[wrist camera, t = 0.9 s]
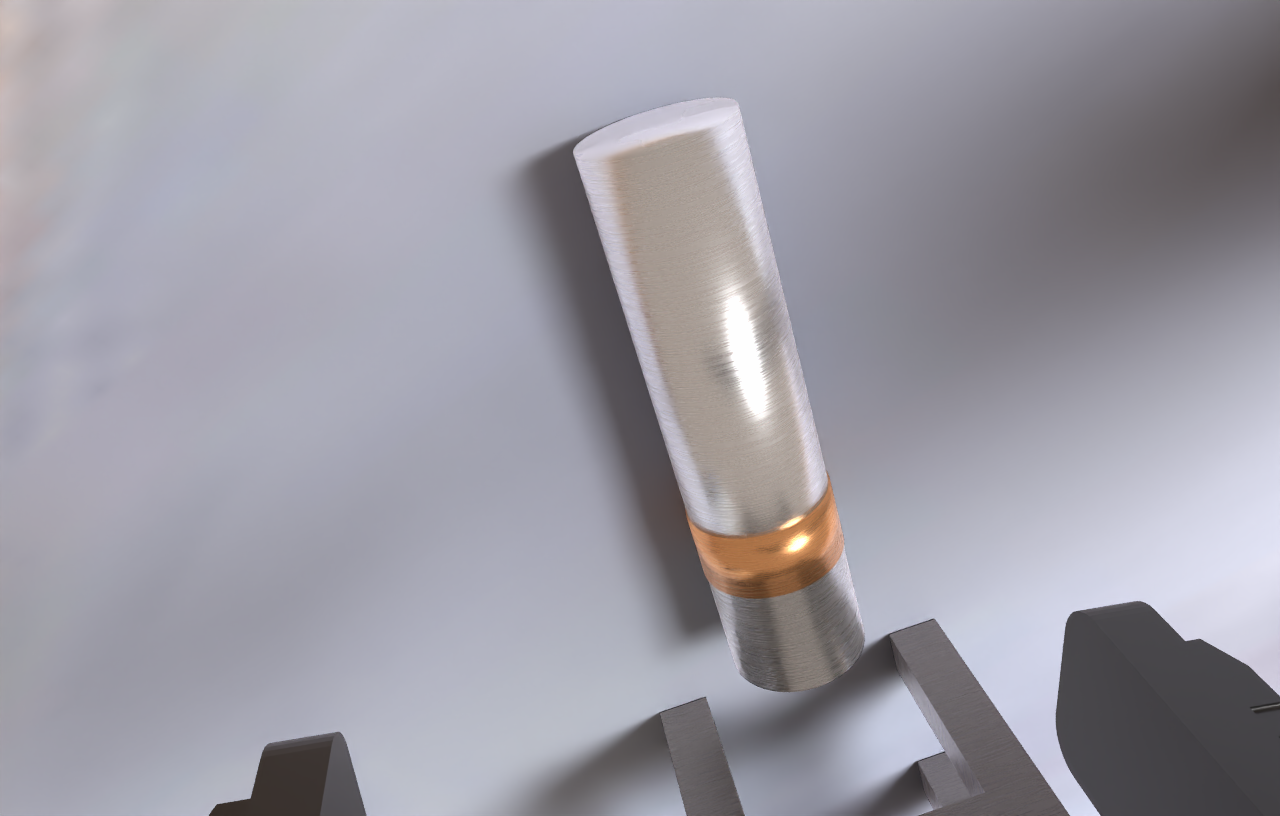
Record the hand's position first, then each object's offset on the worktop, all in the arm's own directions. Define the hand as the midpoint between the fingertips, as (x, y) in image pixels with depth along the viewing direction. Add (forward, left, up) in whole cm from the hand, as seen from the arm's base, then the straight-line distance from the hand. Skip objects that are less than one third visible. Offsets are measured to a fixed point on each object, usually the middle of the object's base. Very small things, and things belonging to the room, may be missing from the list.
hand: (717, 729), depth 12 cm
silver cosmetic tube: (-3, +5, -18) cm, 19 cm away
